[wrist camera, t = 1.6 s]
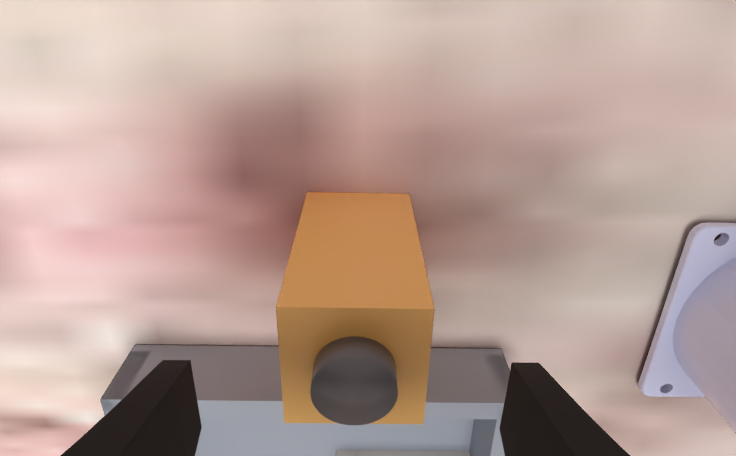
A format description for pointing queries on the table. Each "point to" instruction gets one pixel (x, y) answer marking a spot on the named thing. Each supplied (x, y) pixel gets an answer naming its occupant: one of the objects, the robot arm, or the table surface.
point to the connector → (355, 313)
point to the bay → (327, 440)
